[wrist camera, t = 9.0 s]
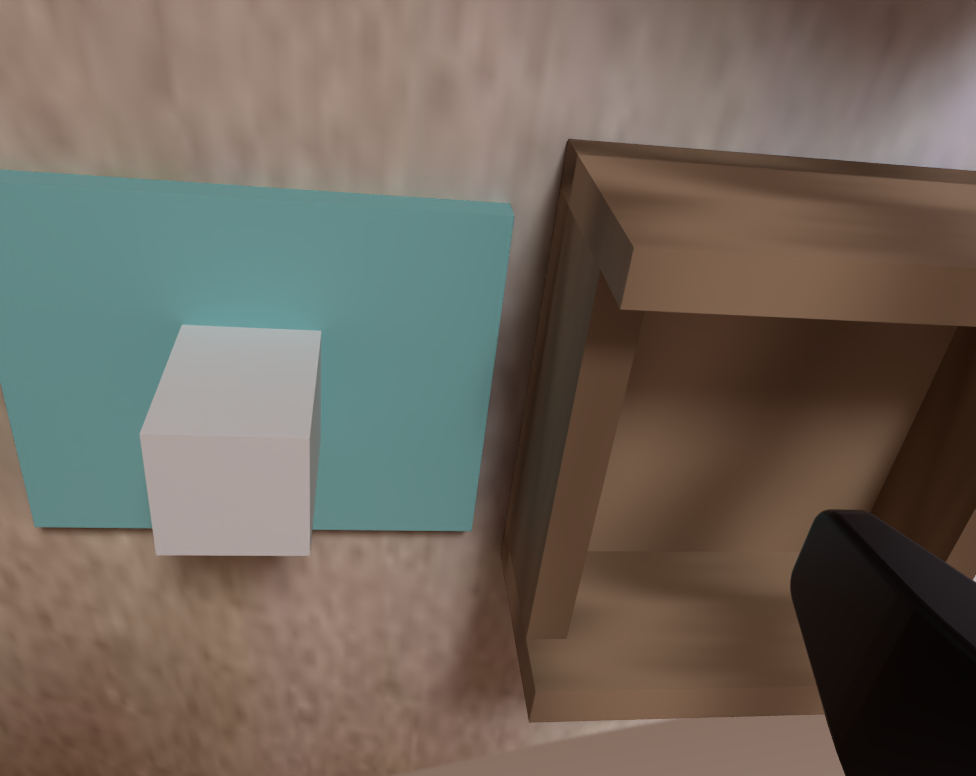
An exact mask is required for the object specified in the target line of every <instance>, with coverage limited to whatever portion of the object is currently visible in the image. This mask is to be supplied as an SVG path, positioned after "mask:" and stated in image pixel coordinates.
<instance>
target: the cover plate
mask: <svg viewBox="0 0 976 776" xmlns="http://www.w3.org/2000/svg"><path fill="white" fill-rule="evenodd" d="M513 223H514V213H513V210H512V207H511V205H510V204H509V203H494V202H479V201H464V200H449V199H434V198H419V197H404V196H389V195H374V194H359V193H344V192H329V191H314V190H299V189H284V188H269V187H254V186H239V185H225V184H210V183H195V182H180V181H165V180H150V179H135V178H120V177H105V176H90V175H75V174H60V173H45V172H30V171H15V170H0V383H1V387H2V391H3V395H4V399H5V404H6V408H7V412H8V416H9V420H10V425H11V429H12V433H13V437H14V441H15V446H16V450H17V454H18V458H19V462H20V467H21V471H22V475H23V479H24V483H25V488H26V492H27V496H28V500H29V504H30V509H31V513H32V517H33V521H34V526H35V527H75V528H152V529H153V536H154V543H155V551H156V555H208V556H310V550H311V539H312V530H401V531H472V524H473V517H474V509H475V502H476V495H477V487H478V480H479V473H480V465H481V458H482V451H483V443H484V436H485V429H486V421H487V414H488V406H489V399H490V392H491V384H492V377H493V370H494V362H495V355H496V348H497V340H498V333H499V326H500V318H501V311H502V304H503V296H504V289H505V282H506V274H507V267H508V260H509V252H510V245H511V238H512V230H513Z"/></svg>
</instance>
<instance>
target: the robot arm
mask: <svg viewBox="0 0 976 776" xmlns="http://www.w3.org/2000/svg"><path fill="white" fill-rule="evenodd" d="M790 592H791V598H792V602H793V606H794V609H795V613H796V616H797V620H798V623H799V627H800V630H801V633H802V637H803V640H804V644H805V647H806V651H807V654H808V658H809V661H810V665H811V668H812V672H813V675H814V679H815V682H816V686H817V689H818V693H819V696H820V700H821V703H822V707H823V710H824V713H825V717H826V720H827V724H828V727H829V730H830V733H831V736H832V739H833V742H834V745H835V749H836V752H837V754H838V757H839V760H840V762H841V765H842V768H843V770H844V773H845V775H846V776H976V582H975V581H973V580H972V579H970V578H969V577H967V576H965V575H964V574H962V573H961V572H959V571H958V570H956V569H955V568H953V567H952V566H950V565H949V564H947V563H946V562H944V561H943V560H941V559H940V558H938V557H937V556H935V555H934V554H932V553H931V552H929V551H928V550H926V549H924V548H923V547H921V546H920V545H918V544H917V543H915V542H914V541H912V540H911V539H909V538H908V537H906V536H905V535H903V534H902V533H900V532H899V531H897V530H896V529H894V528H893V527H891V526H890V525H888V524H887V523H885V522H883V521H882V520H880V519H879V518H877V517H876V516H874V515H873V514H871V513H869V512H867V511H863V510H846V509H828V510H825V511H822V512H821V513H819V514H818V515H817V516H816V517H815V519H814V521H813V523H812V525H811V528H810V530H809V532H808V535H807V537H806V539H805V542H804V544H803V546H802V549H801V551H800V553H799V556H798V558H797V560H796V563H795V565H794V567H793V570H792V573H791V579H790Z"/></svg>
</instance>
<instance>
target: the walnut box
mask: <svg viewBox="0 0 976 776" xmlns="http://www.w3.org/2000/svg"><path fill="white" fill-rule="evenodd" d="M828 509H846V510H863V511H867V512H869V513H871V514H873V515H874V516H876V517H877V518H879V519H880V520H882V521H883V522H885V523H887V524H888V525H890V526H891V527H893V528H894V529H896V530H897V531H899V532H900V533H902V534H903V535H905V536H906V537H908V538H909V539H911V540H912V541H914V542H915V543H917V544H918V545H920V546H921V547H923V548H924V549H926V550H928V551H929V552H931V553H932V554H934V555H935V556H937V557H938V558H940V559H941V560H943V561H944V562H946V563H947V564H949V565H950V566H952V567H953V568H955V569H956V570H958V571H959V572H961V573H962V574H964V575H965V576H967V577H969V578H970V579H972V580H973V578H974V577H975V575H976V171H967V170H954V169H942V168H929V167H916V166H904V165H891V164H878V163H866V162H853V161H841V160H828V159H815V158H803V157H790V156H778V155H765V154H752V153H740V152H727V151H715V150H702V149H689V148H677V147H664V146H651V145H639V144H626V143H614V142H601V141H588V140H576V139H568V144H567V150H566V157H565V163H564V169H563V175H562V181H561V187H560V193H559V199H558V206H557V212H556V218H555V224H554V230H553V236H552V242H551V248H550V254H549V261H548V267H547V273H546V279H545V285H544V291H543V297H542V303H541V309H540V316H539V322H538V328H537V334H536V340H535V346H534V352H533V358H532V365H531V371H530V377H529V383H528V389H527V395H526V401H525V407H524V413H523V420H522V426H521V432H520V438H519V444H518V450H517V456H516V462H515V468H514V475H513V481H512V487H511V493H510V499H509V505H508V511H507V517H506V523H505V530H504V536H503V542H502V548H501V560H502V566H503V572H504V578H505V584H506V590H507V596H508V601H509V607H510V613H511V619H512V625H513V631H514V637H515V642H516V648H517V654H518V660H519V666H520V672H521V678H522V684H523V689H524V695H525V701H526V707H527V713H528V719H529V722H562V721H599V720H635V719H671V718H705V717H741V716H742V717H743V716H778V715H812V714H813V715H816V714H825V713H824V710H823V707H822V703H821V700H820V696H819V693H818V689H817V686H816V682H815V679H814V675H813V672H812V668H811V665H810V661H809V658H808V654H807V651H806V647H805V644H804V640H803V637H802V633H801V630H800V627H799V623H798V620H797V616H796V613H795V609H794V606H793V602H792V598H791V592H790V579H791V573H792V570H793V567H794V565H795V563H796V560H797V558H798V556H799V553H800V551H801V549H802V546H803V544H804V542H805V539H806V537H807V535H808V532H809V530H810V528H811V525H812V523H813V521H814V519H815V517H816V516H817V515H818V514H819V513H821V512H822V511H825V510H828Z"/></svg>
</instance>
